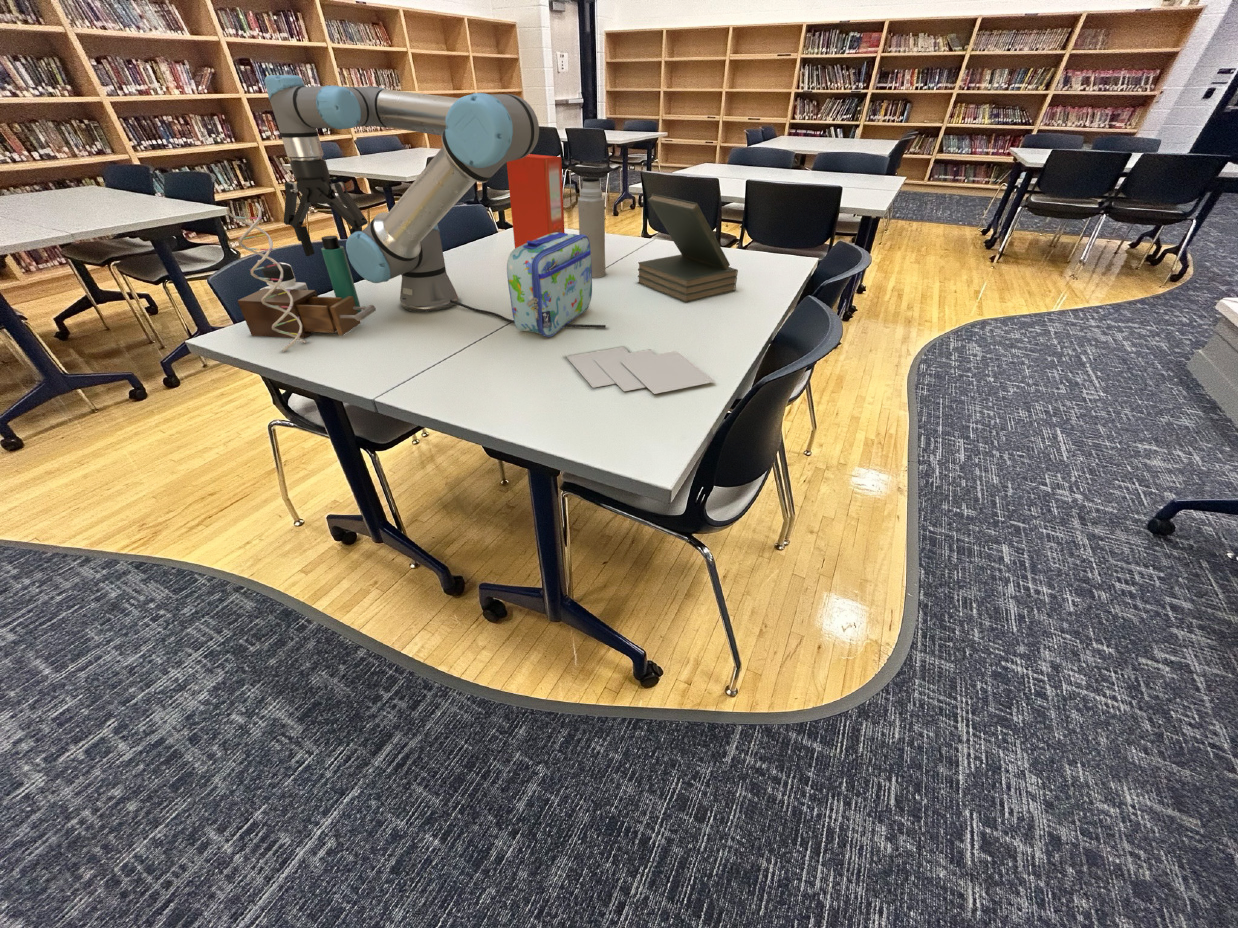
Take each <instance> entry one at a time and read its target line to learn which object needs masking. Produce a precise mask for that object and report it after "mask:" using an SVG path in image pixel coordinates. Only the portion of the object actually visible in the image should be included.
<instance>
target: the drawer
mask: <svg viewBox="0 0 1238 928" xmlns="http://www.w3.org/2000/svg"><path fill="white" fill-rule="evenodd" d="M295 306H296V309H297V312H298V315H299V317H300V320H301V323H302V326H303V329H304V331H307V332H314V333H330V334H333V333H337V335H338V336H345V335H346V334H347V333H349V332H350V331H352V330H353V329H355V328H356V327H357V326H359V325H361V321H363V320H364V319H365V318H367V317H368V316H370V315H371V314H373V313H374V312H376V309H377V308H376V306H375V305H374V304H370V305H368V306H360V307H356V305H355V301H354V298H353V296H348V297H346V298H344V299H342V297H335V296H318V297H316V296H311V297H309V298H307V299H305V300H303V301H302V302H300V303H298V304H296V305H295ZM357 310H362V311H361V312H359V313H358V312H357Z"/></svg>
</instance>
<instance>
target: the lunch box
mask: <svg viewBox="0 0 1238 928" xmlns="http://www.w3.org/2000/svg"><path fill="white" fill-rule="evenodd" d="M507 258H508V259H507V263H506V276H507V277H506V278H507V286H508V292H509V298H510V299H509V300H510V305H511V307H510V308H511V313H512V314H511V315H512V320H514V323H515V324H514V323H513V324H514V326H515V328H516V329H517V331H520V332H521V331H523V332H532V333H537V334H540V335H541V336H543V337H546V338H551V337H553V336H555V335H556V334H557V333H558V332H559V331H561V330H562V329H563V328H565V327H564V326H565V325H566V324H571V322H572V321H573V320H575V319H576V318H577V317H578V316H580V315H582V314H583V313H585V312H586V311H587V310H588V309H589V307H590V304H591V301H592V297H593V278H592V264H591V251H590V243H589V239H588V237H587V236H586V235H584V234H579V233H578V234H576V233H566V232H565V233H557V232H556V233H551V234H548V235H545V236H542V237H540V238H537V239H535V240H533V241H527V243H526V244H524V245H521V246H519V247H517V248H515V247H514V248H513V250H512V251H511V252H510V254H509V255H508V257H507Z"/></svg>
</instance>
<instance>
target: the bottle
mask: <svg viewBox="0 0 1238 928" xmlns="http://www.w3.org/2000/svg"><path fill="white" fill-rule="evenodd" d="M320 239H321V242H322V245H323V247H321V248H320V250H321V253H322V258H323V260H324V263H325V268H326V270H327V274H328V276H329V280H330V283H331V287H332V290H333V294H334V297H342V299H344V298H346V297H348V296H353V298H354V301H355V305H356V307H361V304H360V300H359V297H358V293H357V290H356V285H355V283H354V279H353V275H352V271H351V268H350V265H349V260H348V256H347V252H346V249H345V247H344V245H340V242H339V238H338V236H337V235H326V236H325V235H324V236H322V237H320ZM361 311H362V310H357V312H358V313H359V312H361Z"/></svg>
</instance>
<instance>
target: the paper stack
mask: <svg viewBox="0 0 1238 928" xmlns="http://www.w3.org/2000/svg"><path fill="white" fill-rule="evenodd" d="M565 358H567V360H568V361H569V362H570V363H571V364H572V366H573V367H574V368H575V369H576V370H577V371H578V372H579V374H580V375H581V376H582V377H583V378H584V379H585V380H586V381H587V383H588V384H589V385H590V386H591V387H592V389H594V388H599V387H600V388H601V387H605V386H609V385H615V384H616V385H617V386H618V387H619V388H620V389H621V390H622V391H623V392H629V391H634V390H638V389H639V390H640V389H644V388H647V389H648V390H649V391H650V392H651V393H653V394H654V395H657V394H661V393H666V392H672V391H676V390H682V389H685V388H692V387H696V386H701V385H705V384H706V385H707V384H710V383H716V382H717V381H716V380H715V379H713V377H712V376H710V375H708V374H707V373H706V372H705V371H703V370H702V369H701V368H699V367H698V366H697V365H696V364H694V363H693V362H691V360H689V359H688V358H687V357H685V356H684V355H683V354H681V353H680V352H679V351H677V350H673V351H668V352H663V353H657V354H656V353H655V352H654V351H653V350H651V349H645V350H638V351H633V352H632V351H631V352H629V351H628V350H627V348H625V347H624V346H620V347H614V348H607V349H602V350H597V351H595V350H594V351H590V352H585V353H579V354H572V355H566V356H565Z"/></svg>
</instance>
